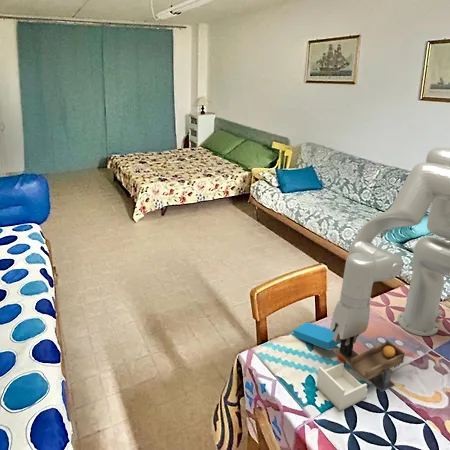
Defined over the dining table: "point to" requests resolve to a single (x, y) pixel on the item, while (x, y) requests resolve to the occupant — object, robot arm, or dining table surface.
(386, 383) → the stand
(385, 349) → the ball
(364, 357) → the brown shallow tray
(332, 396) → the box
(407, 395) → the dining table surface
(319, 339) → the lever
